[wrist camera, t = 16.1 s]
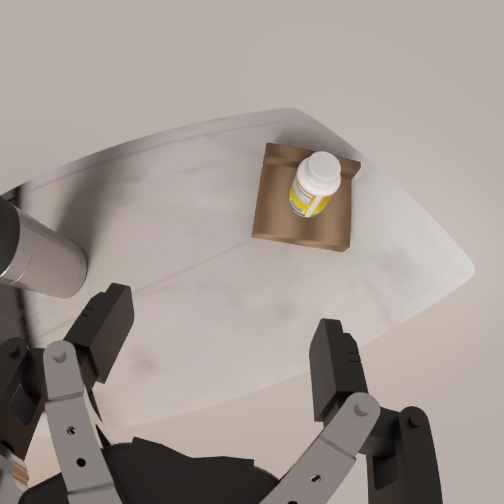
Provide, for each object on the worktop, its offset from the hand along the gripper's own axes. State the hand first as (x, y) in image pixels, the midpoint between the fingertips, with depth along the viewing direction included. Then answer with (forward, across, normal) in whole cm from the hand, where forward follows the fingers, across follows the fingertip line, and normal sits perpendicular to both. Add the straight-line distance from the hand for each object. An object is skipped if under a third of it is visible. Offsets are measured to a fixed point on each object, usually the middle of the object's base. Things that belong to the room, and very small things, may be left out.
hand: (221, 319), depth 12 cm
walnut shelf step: (+34, -8, +7) cm, 35 cm away
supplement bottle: (+31, -8, +5) cm, 33 cm away
